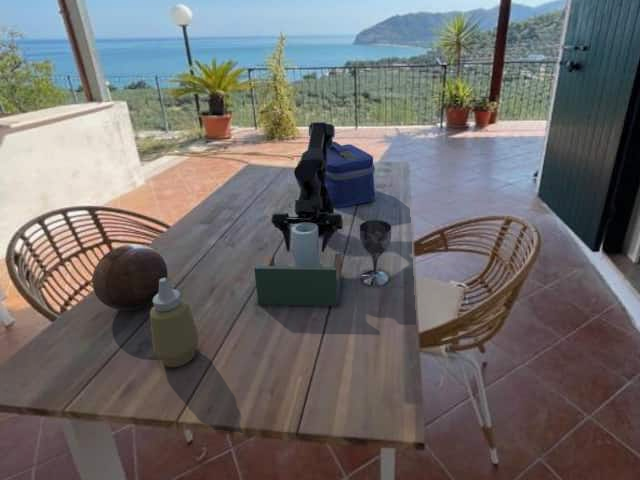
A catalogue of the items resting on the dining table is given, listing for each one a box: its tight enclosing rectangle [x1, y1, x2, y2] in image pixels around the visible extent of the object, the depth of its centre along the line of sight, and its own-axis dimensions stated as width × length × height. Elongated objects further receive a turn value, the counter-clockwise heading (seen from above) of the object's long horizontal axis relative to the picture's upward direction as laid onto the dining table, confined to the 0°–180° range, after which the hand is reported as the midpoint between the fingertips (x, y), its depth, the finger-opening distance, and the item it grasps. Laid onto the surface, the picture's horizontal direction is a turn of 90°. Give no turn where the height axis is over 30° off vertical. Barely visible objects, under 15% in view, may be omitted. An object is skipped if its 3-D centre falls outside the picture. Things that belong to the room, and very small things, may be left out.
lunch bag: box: [325, 140, 376, 208], centre depth 157 cm, size 31×21×20 cm
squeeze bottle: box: [149, 278, 200, 368], centre depth 74 cm, size 8×8×18 cm
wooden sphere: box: [91, 243, 168, 311], centre depth 90 cm, size 15×15×15 cm
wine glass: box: [359, 219, 392, 287], centre depth 100 cm, size 8×8×15 cm
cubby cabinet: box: [254, 252, 343, 307], centre depth 96 cm, size 13×19×10 cm
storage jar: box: [291, 222, 321, 267], centre depth 104 cm, size 7×7×13 cm
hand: (305, 251), depth 102 cm, fingers open, 9 cm apart
